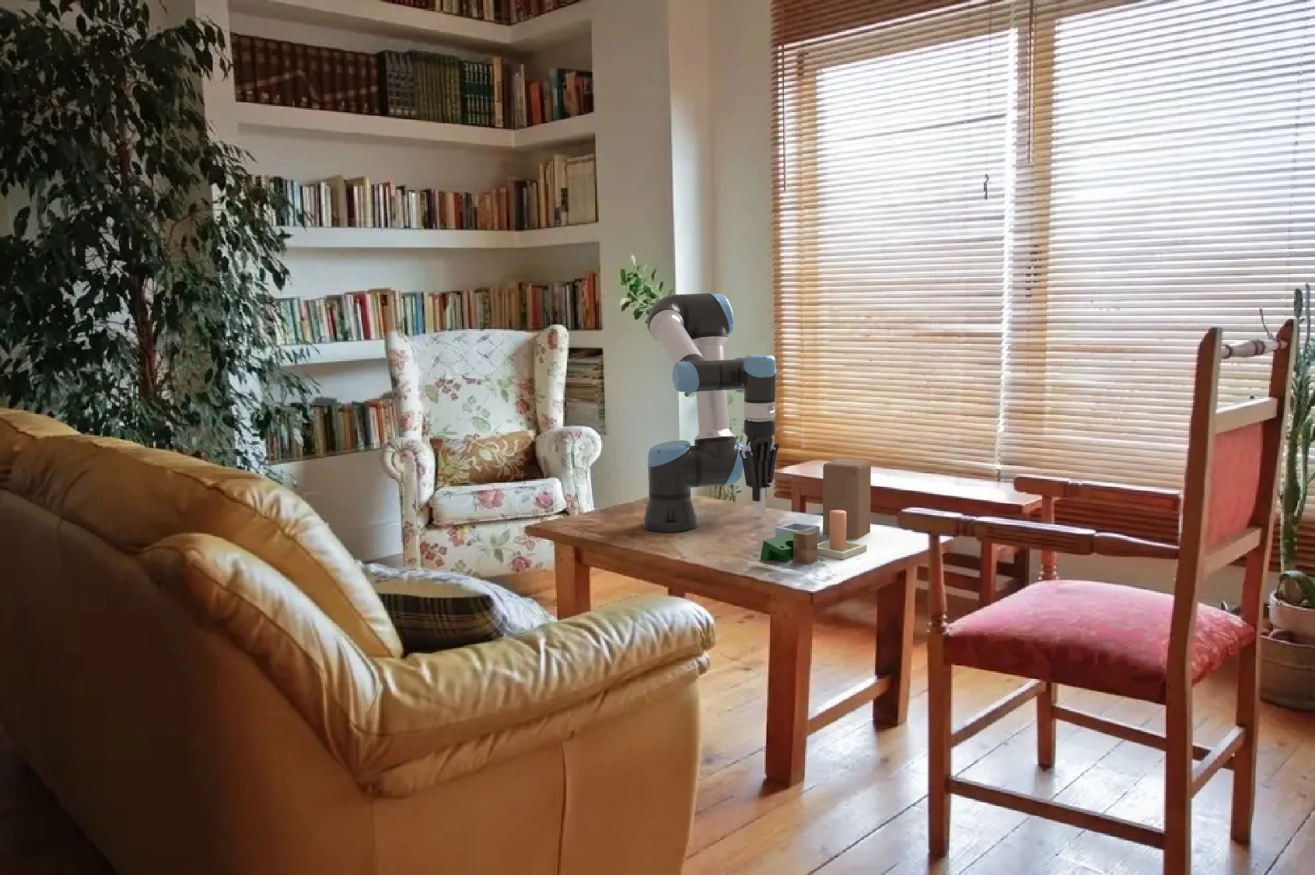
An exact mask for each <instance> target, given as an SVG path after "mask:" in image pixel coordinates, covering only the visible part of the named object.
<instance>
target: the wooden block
mask: <svg viewBox="0 0 1315 875" xmlns="http://www.w3.org/2000/svg"><path fill="white" fill-rule="evenodd" d="M871 473H872V464H871V461H869V460H863V459H854V458H840V457H839V458H836V459H833V460H831V461H829V462H825V463H824V464H823V466H822V536H825V537H826V536H827V537H830V511H832V510H843V511H846V539H849V540H851V539H852V540H860V539H861V538H863V537H864V536H866V535H868V534H869V533H871V506H872V505H871V496H872V495H871V493H872V492H871V491H872V490H871V489H872V488H871V487H872V486H871V485H872V476H871V475H872V474H871Z"/></svg>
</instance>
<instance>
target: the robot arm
mask: <svg viewBox="0 0 1315 875" xmlns="http://www.w3.org/2000/svg"><path fill="white" fill-rule="evenodd" d="M734 322H735V321H734V312H733V308H732V305H731V303H730V301H729V300H728V298H727V297H726V295H724V294H722V293H711V292H707V293H685V294H683V293H681V294H675V293H674V294H669V295H666V296H665V297H662V298H661V299H659V300H657V301H656V302H655V303H654V304H653V306H652V307H651V308H650V310H649V312H648V315H647V321H646V324H647V329H648V332H649V334H650V335H651V337H652V339H654V340H655V341H657V342H658V343H660V345H661V346H662V348H663V349H664V351H665V352H666V355H667V357H668V358H669V360H670V361H671V364H672V365H673V367H672V374H671V375H672V383H673V387H674V389H675V390H676V391H677V392H679V393H691V394H692V393H695V394H696V395H695V396H696V408H697V421H698V422H697V423H698V424H697V425H698V434H697V436H695V438H694V440H693V441H694V445H691V442H690V441H688V440H684V439H683V440H682V439H681V440H671V441H664V442H660V443H658V444H655V445H653V446H652V447H650V449H649V450H648V453H647V454H648V456H647V457H648V458H647V466H648V468H647V470H648V473H647V474H648V500H647V501H648V502H647V505H646V508H645V514H644V515H643V520H642V521H643V522H642V523H643V525H642V526H643V528H644V529H646V530H649V531H653V532H660V533H661V532H662V533H673V532H674V533H676V532H677V533H678V532H686V531H691V530H694V529H695V528H697V527H698V524H699V523H698V516H697V514H696V512H695V508H694V504H693V500H692V497H691V496H692V494H691V493H692V492H691V491H692V488H701V487H702V488H703V487H717V486H718V487H719V486H721V487H725V486H729V485H735V484H737V483H738V482H739V481H740V480H741V478H742V476H743V475H744V480H745V485H746V487H749V488H751V489H752V492H751V498H752V499H751V500H752V513H753V514H756V515H766V506H767V505H766V500H767V488H771V484H772V483H773V479H774V474H775V473H774V472H775V465H776V462H777V461H776V460H777V455H778V454H777V453H778V452H779V449H780V444H779V443H775V442H774V440H773V436H774V435H776V420H775V417H776V386H777V385H776V384H777V383H776V381H777V380H776V378H777V368H776V366H777V365H776V358H775V356H773V355H772V354H765V353H764V354H763V353H757V354H756V353H754V354H748V355H746V356H745V357H736V358H733V359H725V355H724V345H725V344H726V343H727V341H728V340H729V339H728V336H729V335H730V334H732V333H733V330H734ZM735 390H737V391H738V390H740V391H741V390H743V393H744V394H743V396H744V397H743V399H744V400H743V417H744V418H745V419H744V421H743V434H744V435H745V436H746V437H747V438H746V442H745V448H744V446H743V444H742V443H741V442H739V441H737V437H736V435H735V434H734V433H733V432H732V431H731V429H730V418H729V408H728V407H729V406H728V392H727V391H735Z"/></svg>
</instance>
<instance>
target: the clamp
mask: <svg viewBox="0 0 1315 875" xmlns="http://www.w3.org/2000/svg"><path fill="white" fill-rule="evenodd" d="M793 533H794V532H792V533H789V534H785V535H782V536H778V537H775V536H774V537H770V538H768V539H765V540H763V543H762V547H761V553H760V560H762V561H766V562H768V561H770V560H774V559H775V560H779V561H784V562H790V557H793ZM767 565H769V563H767Z"/></svg>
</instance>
